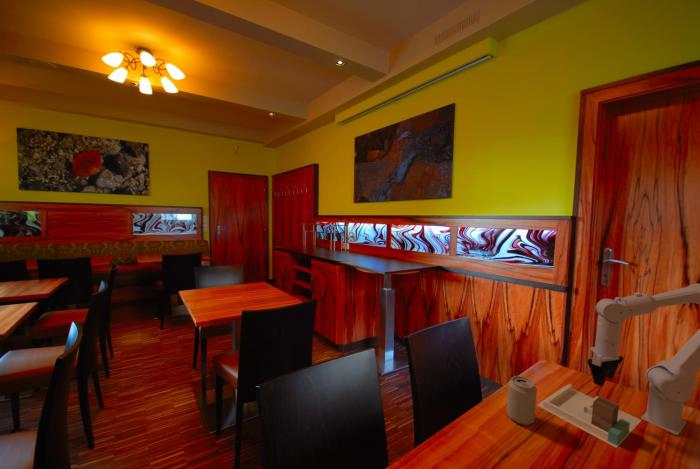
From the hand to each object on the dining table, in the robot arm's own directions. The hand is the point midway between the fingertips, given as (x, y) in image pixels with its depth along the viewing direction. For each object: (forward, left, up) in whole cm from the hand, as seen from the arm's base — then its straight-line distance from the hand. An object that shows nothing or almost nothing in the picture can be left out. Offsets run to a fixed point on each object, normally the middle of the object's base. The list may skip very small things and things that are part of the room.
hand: (603, 380), depth 97 cm
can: (+24, -12, -11) cm, 29 cm away
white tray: (+5, -2, -10) cm, 12 cm away
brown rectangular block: (+9, +4, -10) cm, 14 cm away
